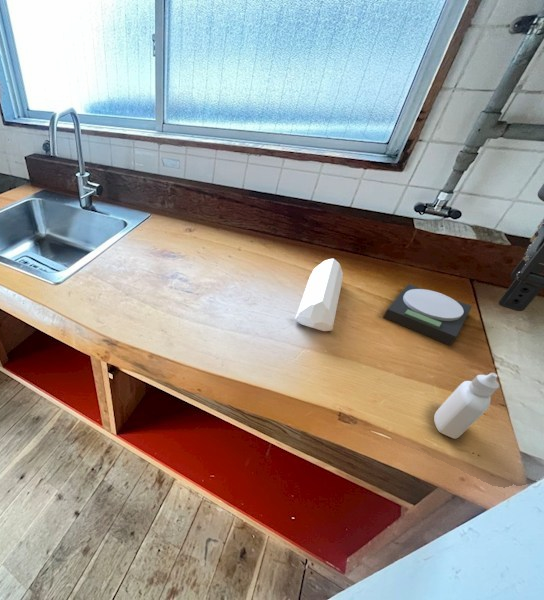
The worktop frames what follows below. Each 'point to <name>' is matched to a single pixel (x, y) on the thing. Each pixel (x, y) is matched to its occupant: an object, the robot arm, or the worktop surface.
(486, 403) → the eye dropper bottle
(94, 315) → the worktop surface
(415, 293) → the kitchen scale
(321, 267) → the chamfered white bar
